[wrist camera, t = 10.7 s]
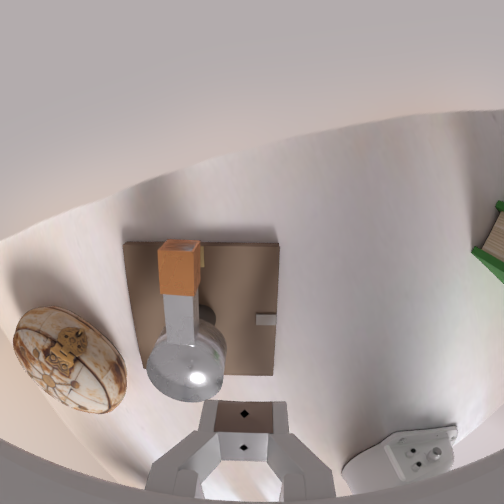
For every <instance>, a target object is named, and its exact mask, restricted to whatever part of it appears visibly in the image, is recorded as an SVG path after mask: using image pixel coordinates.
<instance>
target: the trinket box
mask: <svg viewBox="0 0 504 504" xmlns="http://www.w3.org/2000/svg"><path fill="white" fill-rule="evenodd" d="M13 348H14V351H15V354H16V356H17V358H18V360H19V362H20V364H21V365H22V367H23V368H24V370H25V371H26V372H27V374H28V375H29V376H30V377H31V379H32V380H33V381H34V382H35V383H36V384H37V385H38V386H40V387H41V388H42V389H43V390H44V391H45V392H47V393H48V394H49V395H51V396H52V397H53V398H55V399H57V400H58V401H60V402H61V403H63V404H65V405H66V406H69V407H71V408H73V409H76V410H80V411H84V412H88V413H96V414H104V413H108V412H110V411H112V410H114V409H115V408H116V407H117V406H118V405H119V404H120V403H121V401H122V400H123V398H124V396H125V393H126V387H127V380H126V376H127V370H126V366H125V363H124V361H123V359H122V357H121V355H120V354H119V352H118V351H117V350H116V348H115V347H114V346H113V345H112V344H111V343H110V342H109V340H108V339H107V338H106V337H105V336H103V335H102V334H101V333H100V332H99V331H98V330H97V329H95V328H94V327H93V326H92V325H91V324H89V323H88V322H87V321H85V320H84V319H82V318H81V317H79V316H78V315H76V314H75V313H72V312H71V311H68V310H66V309H63V308H61V307H55V306H47V307H39V308H35V309H32V310H30V311H28V312H27V313H26V314H24V315H23V317H22V318H21V319H20V321H19V323H18V325H17V327H16V331H15V334H14V338H13Z"/></svg>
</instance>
